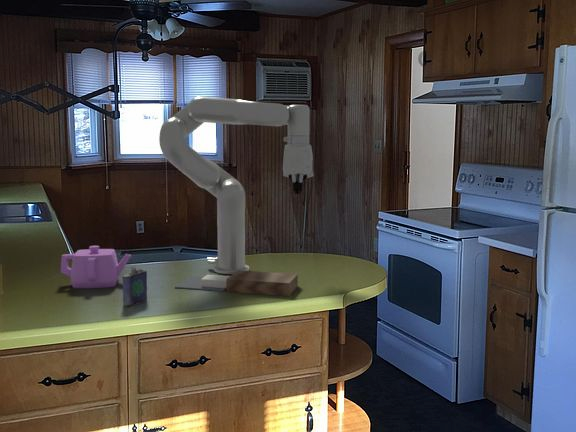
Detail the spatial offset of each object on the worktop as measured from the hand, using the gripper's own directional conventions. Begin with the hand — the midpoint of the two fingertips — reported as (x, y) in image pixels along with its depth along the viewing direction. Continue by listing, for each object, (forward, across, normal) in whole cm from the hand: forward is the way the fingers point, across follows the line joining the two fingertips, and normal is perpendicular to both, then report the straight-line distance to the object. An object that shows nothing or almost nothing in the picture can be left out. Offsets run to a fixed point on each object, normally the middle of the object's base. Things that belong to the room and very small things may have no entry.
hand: (298, 193), depth 231 cm
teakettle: (+27, -59, -35) cm, 74 cm away
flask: (+27, -37, -53) cm, 70 cm away
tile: (+27, -20, -30) cm, 44 cm away
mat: (+27, -24, -28) cm, 46 cm away
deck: (+27, -5, -29) cm, 40 cm away
